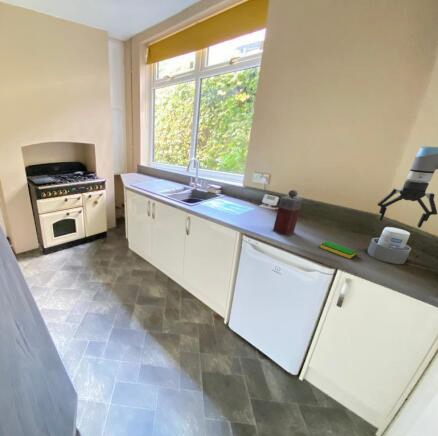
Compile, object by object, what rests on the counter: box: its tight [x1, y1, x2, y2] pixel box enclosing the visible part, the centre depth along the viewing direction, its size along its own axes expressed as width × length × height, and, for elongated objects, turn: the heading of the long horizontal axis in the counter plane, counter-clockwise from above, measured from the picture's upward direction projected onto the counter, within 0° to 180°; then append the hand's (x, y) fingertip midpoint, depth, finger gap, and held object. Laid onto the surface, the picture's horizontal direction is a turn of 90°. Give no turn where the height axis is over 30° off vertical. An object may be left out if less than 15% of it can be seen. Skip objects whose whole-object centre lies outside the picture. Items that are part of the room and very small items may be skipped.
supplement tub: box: [377, 226, 411, 250], centre depth 121 cm, size 10×10×15 cm
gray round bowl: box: [367, 237, 412, 265], centre depth 122 cm, size 15×15×8 cm
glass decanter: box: [272, 189, 304, 237], centre depth 147 cm, size 9×11×28 cm
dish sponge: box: [320, 240, 357, 259], centre depth 128 cm, size 7×14×2 cm, turn 32°
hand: (398, 223), depth 117 cm, fingers open, 13 cm apart
